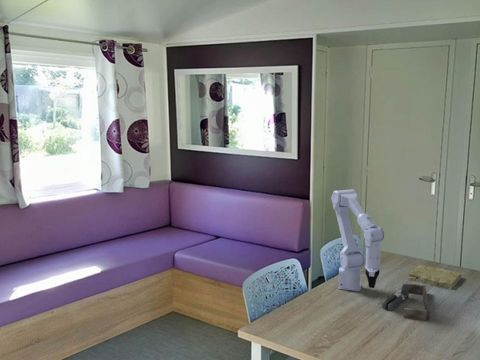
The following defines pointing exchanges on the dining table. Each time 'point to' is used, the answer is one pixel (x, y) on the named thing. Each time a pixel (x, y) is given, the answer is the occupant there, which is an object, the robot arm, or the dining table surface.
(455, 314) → the dining table surface
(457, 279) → the decorative tile
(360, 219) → the robot arm
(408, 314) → the box
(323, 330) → the dining table surface
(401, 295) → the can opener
